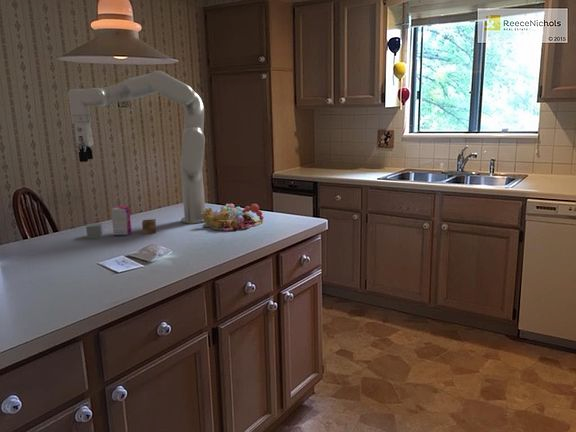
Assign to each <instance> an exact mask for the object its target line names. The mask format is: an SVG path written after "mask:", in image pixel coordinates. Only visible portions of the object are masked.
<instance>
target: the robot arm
mask: <svg viewBox="0 0 576 432" xmlns="http://www.w3.org/2000/svg"><path fill="white" fill-rule="evenodd" d="M156 94H160V95H162V96H163V97H165V98H167V99H169V100H171V101H172V102H175V103H176V104H178V105H181V106H182V107H183V109H184V124H183V133H182V135H181V137H182V138H181V150H180V151H181V153H180V159H179V168H180V175H181V176H180V177H181V189H182V191H181V192H182V201H183V214H184V217H182V218H181V221H180V222H181V223H183V224H189V225H190V224H192V225H193V224H202V223H205V222H204V219H203V217H202V211H203V212H206V204H205V203H206V201H205V189H204V173H203V167H204V166H203V165H204V157H205V149H206V148H205V147H206V146H205V145H206V137H205V133H204V130H205V129H204V128H205V127H204V126H205V106H204V103H203V100H202V98H201V97H200V95H199V94H198V93H197V92H196V91H194V89H193V88H192V87H191V86H190V85H188V84H186V83H184V82H182V81H181V80H179V79H177V78H175V77H173V76H171V75H169V74H168V73H167V72H164V71H163V70H154V71H152V72H151V73H146V74H143V75H137V76H134V77H129V78H127V79H124V80H123V81H121V82H119V83H116V84H112V85H109V86H104V87H92V88H85V89H84V88H71V89H69V90H68V93H67V96H68V101H69V103H68V104H69V108H70V118H71V123H72V124H74V132H75V135H74V136H75V141H76V146H77V149H78V151H77V152H78V158H79V159H78V160H79V162H80V163H85V162H86V163H87V162H88V161H89V160H94V155H93V149H92V146H93V145H94V139H93V133H92V128H91V127H92V126H91V123H92V117H91V106H92V107H105V106H109V105H114V104H117V103H121V102H125V101H132V100H136V99H140V98H144V97H148V96H152V95H156ZM213 216H214V213H213Z"/></svg>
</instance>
